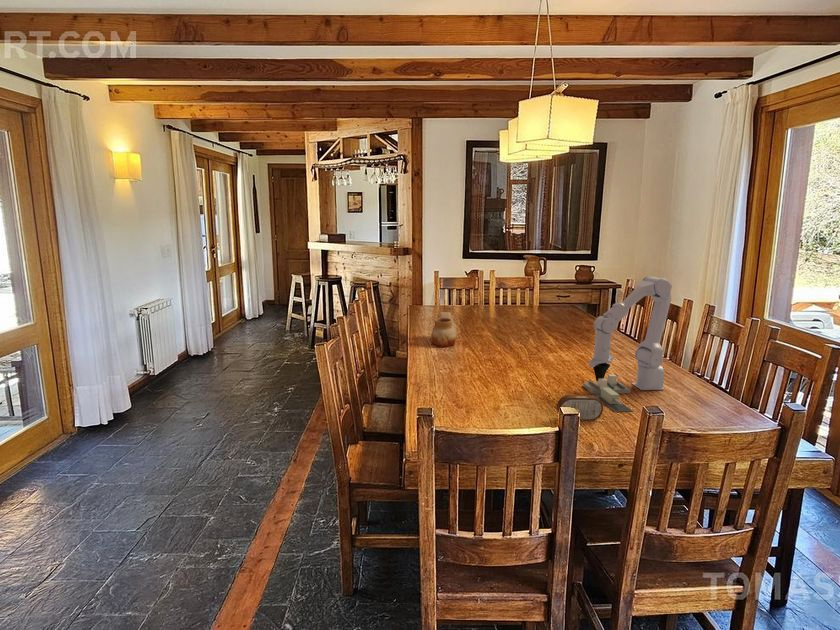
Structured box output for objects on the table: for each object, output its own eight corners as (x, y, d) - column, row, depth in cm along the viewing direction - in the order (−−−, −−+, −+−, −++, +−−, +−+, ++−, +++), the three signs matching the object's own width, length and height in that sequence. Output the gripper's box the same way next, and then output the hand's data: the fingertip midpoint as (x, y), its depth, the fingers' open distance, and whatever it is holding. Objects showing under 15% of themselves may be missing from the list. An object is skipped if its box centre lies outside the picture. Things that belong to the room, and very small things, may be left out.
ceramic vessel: (457, 337, 288) (458, 310, 285) (456, 348, 262) (457, 319, 259) (432, 336, 289) (433, 309, 286) (429, 347, 263) (430, 318, 260)
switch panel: (619, 385, 207) (619, 379, 207) (629, 393, 199) (630, 387, 198) (583, 386, 206) (583, 380, 206) (592, 393, 197) (592, 387, 197)
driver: (608, 396, 194) (609, 387, 193) (624, 409, 181) (625, 399, 181) (600, 396, 194) (601, 387, 193) (616, 409, 181) (617, 399, 180)
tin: (599, 418, 173) (601, 394, 172) (603, 421, 170) (605, 397, 169) (555, 417, 173) (557, 393, 171) (558, 421, 170) (560, 397, 168)
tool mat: (610, 394, 197) (610, 393, 197) (633, 411, 179) (633, 411, 179) (592, 394, 196) (592, 394, 196) (613, 412, 179) (613, 411, 179)
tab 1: (604, 387, 200) (605, 378, 200) (607, 389, 198) (608, 380, 197) (597, 387, 200) (597, 378, 199) (599, 389, 198) (600, 380, 197)
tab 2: (613, 383, 206) (614, 374, 205) (616, 384, 203) (617, 376, 202) (606, 383, 205) (607, 374, 205) (609, 385, 203) (610, 376, 202)
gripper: (602, 352, 191) (599, 387, 193) (621, 346, 201) (618, 380, 203) (585, 348, 196) (582, 383, 199) (604, 343, 206) (601, 376, 208)
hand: (599, 381), depth 201 cm, fingers closed
